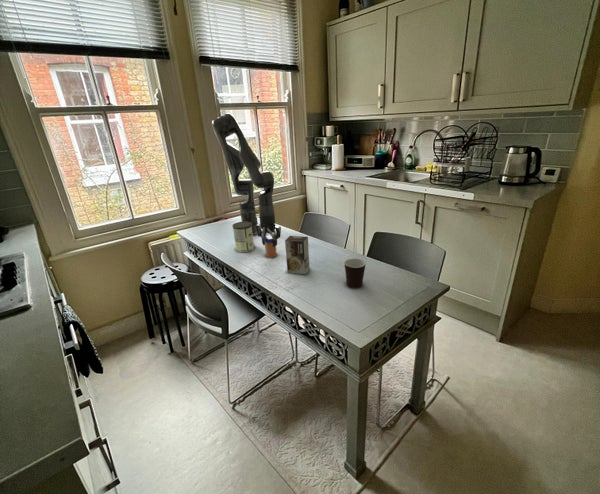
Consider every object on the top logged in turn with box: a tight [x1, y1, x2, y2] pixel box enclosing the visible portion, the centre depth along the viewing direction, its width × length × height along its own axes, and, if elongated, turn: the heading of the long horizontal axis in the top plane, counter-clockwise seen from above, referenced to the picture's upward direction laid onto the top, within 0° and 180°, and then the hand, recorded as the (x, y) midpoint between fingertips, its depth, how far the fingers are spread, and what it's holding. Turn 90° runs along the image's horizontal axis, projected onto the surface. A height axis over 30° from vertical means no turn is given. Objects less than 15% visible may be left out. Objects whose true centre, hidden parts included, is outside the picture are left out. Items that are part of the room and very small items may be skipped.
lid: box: [264, 234, 273, 243], centre depth 160 cm, size 6×6×2 cm
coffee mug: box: [343, 258, 366, 289], centre depth 132 cm, size 12×9×10 cm
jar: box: [264, 242, 278, 258], centre depth 162 cm, size 5×5×10 cm
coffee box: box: [284, 235, 310, 275], centre depth 143 cm, size 9×6×16 cm
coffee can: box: [232, 221, 255, 253], centre depth 172 cm, size 10×10×14 cm
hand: (269, 245), depth 162 cm, fingers closed on lid, 5 cm apart
